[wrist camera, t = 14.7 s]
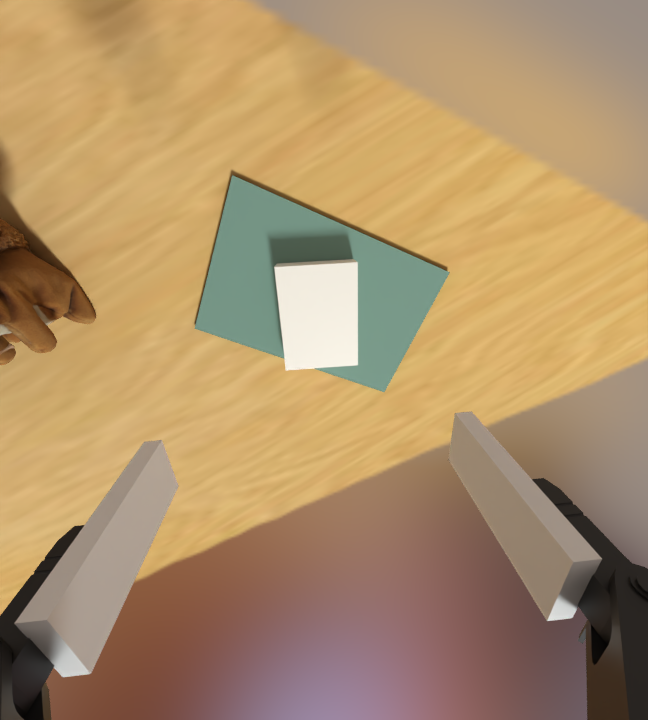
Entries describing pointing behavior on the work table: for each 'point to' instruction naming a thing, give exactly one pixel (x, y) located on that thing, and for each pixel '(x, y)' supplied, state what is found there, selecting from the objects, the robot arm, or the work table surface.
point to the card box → (318, 313)
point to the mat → (306, 244)
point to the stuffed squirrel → (33, 297)
